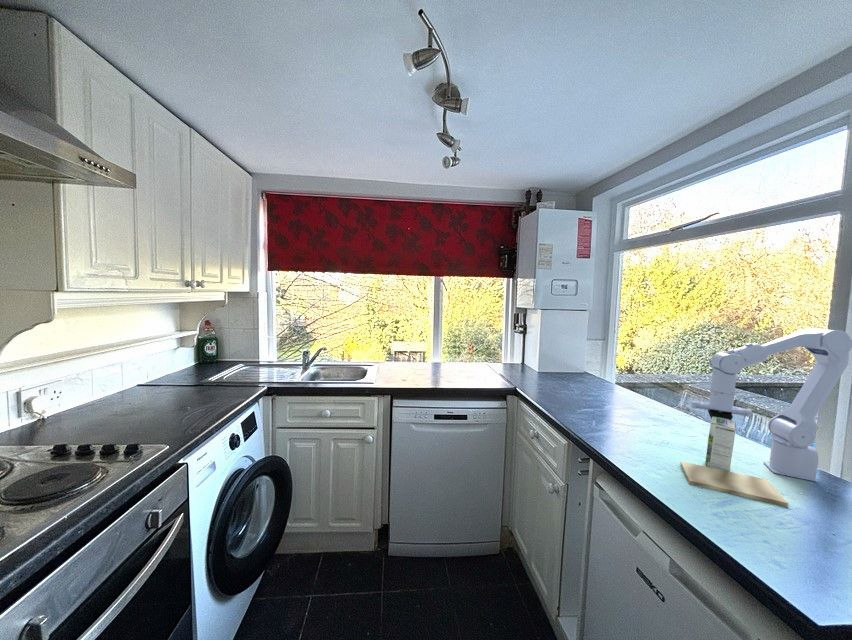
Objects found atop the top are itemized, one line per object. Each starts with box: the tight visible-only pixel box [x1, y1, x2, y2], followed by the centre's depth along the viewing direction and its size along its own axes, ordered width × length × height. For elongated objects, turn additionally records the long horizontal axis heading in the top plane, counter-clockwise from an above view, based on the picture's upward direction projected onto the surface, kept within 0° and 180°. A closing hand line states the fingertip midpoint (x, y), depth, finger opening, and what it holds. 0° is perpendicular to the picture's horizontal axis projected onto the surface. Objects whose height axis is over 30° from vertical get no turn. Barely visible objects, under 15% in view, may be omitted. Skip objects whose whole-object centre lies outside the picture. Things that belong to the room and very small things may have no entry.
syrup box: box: [704, 417, 737, 472], centre depth 106 cm, size 6×6×14 cm
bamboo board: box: [680, 461, 789, 508], centre depth 98 cm, size 20×13×1 cm, turn 63°
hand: (717, 434), depth 110 cm, fingers closed
